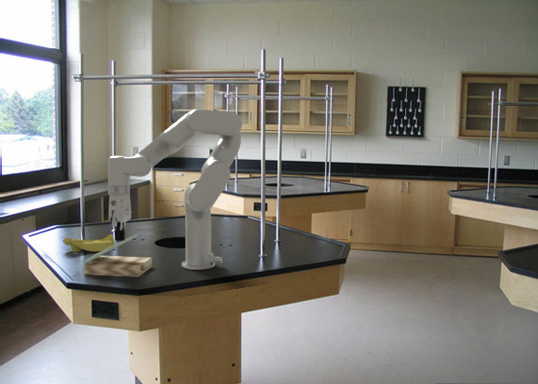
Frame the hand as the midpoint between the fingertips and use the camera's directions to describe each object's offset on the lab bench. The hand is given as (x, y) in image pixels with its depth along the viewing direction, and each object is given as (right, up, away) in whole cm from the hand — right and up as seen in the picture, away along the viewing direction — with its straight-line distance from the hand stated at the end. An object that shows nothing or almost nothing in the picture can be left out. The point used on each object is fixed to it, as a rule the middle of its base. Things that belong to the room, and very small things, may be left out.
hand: (119, 240), depth 197 cm
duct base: (-1, -11, +2) cm, 11 cm away
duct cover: (-3, -3, +1) cm, 5 cm away
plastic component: (-23, -8, +34) cm, 41 cm away
